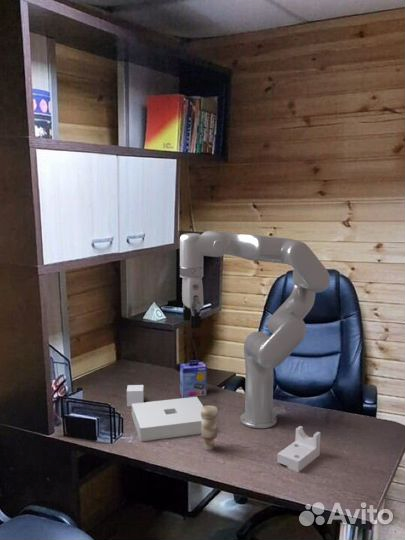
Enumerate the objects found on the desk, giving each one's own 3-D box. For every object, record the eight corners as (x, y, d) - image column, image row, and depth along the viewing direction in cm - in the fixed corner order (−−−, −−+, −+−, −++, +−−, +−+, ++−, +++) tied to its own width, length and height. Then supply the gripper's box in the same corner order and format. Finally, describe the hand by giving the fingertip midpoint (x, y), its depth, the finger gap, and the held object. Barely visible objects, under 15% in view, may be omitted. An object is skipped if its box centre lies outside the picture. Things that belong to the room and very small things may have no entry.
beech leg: (214, 443, 174) (214, 404, 172) (219, 450, 169) (219, 411, 167) (198, 445, 173) (198, 406, 171) (203, 453, 168) (203, 413, 166)
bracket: (299, 448, 171) (299, 425, 170) (319, 455, 167) (320, 432, 166) (277, 464, 162) (277, 441, 160) (298, 473, 157) (298, 448, 156)
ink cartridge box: (182, 398, 210) (182, 362, 207) (179, 393, 215) (178, 358, 212) (207, 395, 213) (207, 360, 210) (203, 390, 218) (203, 355, 215)
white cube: (127, 406, 203) (126, 391, 202) (128, 400, 208) (127, 385, 207) (143, 406, 203) (142, 390, 202) (143, 399, 209) (143, 384, 208)
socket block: (196, 408, 201) (196, 396, 200) (212, 432, 182) (212, 419, 181) (131, 415, 194) (131, 403, 194) (140, 441, 175) (140, 428, 175)
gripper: (210, 276, 168) (210, 330, 171) (195, 267, 184) (195, 316, 187) (187, 277, 166) (187, 331, 169) (174, 268, 182) (174, 318, 185)
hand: (191, 323), depth 178 cm, fingers open, 9 cm apart
